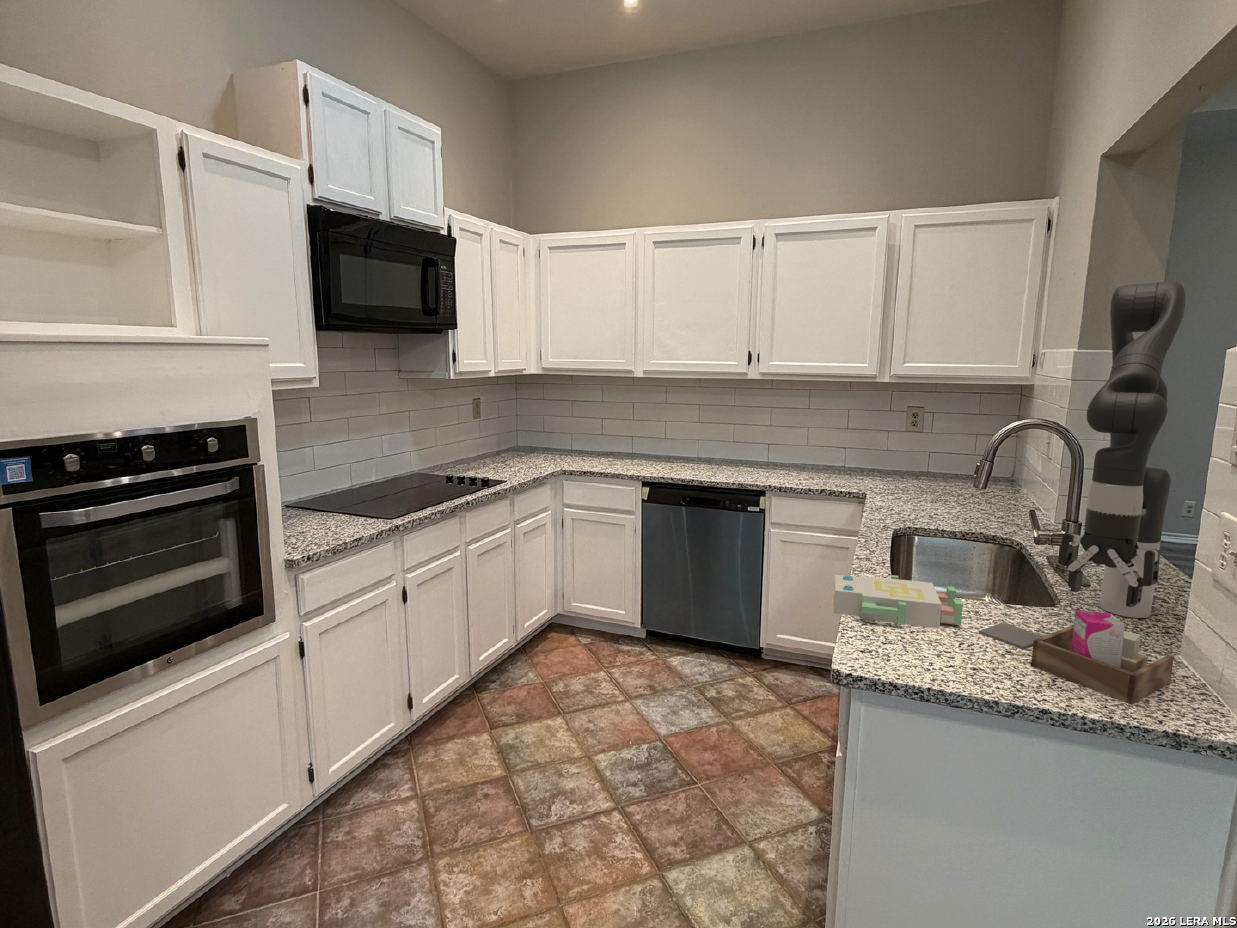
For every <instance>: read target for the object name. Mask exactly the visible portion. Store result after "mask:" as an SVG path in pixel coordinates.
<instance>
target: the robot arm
mask: <svg viewBox="0 0 1237 928" xmlns="http://www.w3.org/2000/svg"><path fill="white" fill-rule="evenodd" d="M1185 290H1186V289H1185V287H1184V286H1183V284H1182V283H1180V282H1178V281H1160V282H1145V283H1134V284H1125V285H1120V286H1118V287H1117V288H1115V290H1114V292H1113V293H1112V297H1111V300H1110V313H1109V314H1110V336H1111V337H1110V338H1111V352H1112V353H1111V354H1112V355H1111V356H1112V358H1111V359H1112V367H1111V370H1110V373H1109V377H1108V379H1107V381H1106V382H1105V384H1103V386H1102V387H1101V388H1100V389H1099V390H1098V391H1097V392H1096V394H1094V396H1093V397H1092V399H1091V400H1090V402H1089V404H1088V407H1087V409H1086V422H1087V424H1088V425H1089V427H1090V428H1091V429H1092V430H1094V431H1095V432H1098V433H1102V434H1110V436H1109V437H1110V443H1109V444H1110V446H1109V447H1103V448H1102V447H1101V448H1099V449H1098V450H1097V451H1096V452H1095V454H1094V455H1095V456H1094V461H1093V469H1092V479H1091V482H1090V483H1091V484H1090V486H1089V491H1088V495H1087V498H1086V511H1085V519H1084V520H1085V521H1084V527H1083V531H1084V532H1083V535H1079V534H1076V533H1075V532H1074V531H1073V532H1067V533H1065V534H1063V535H1062V538H1061V545H1060V549H1059V555H1058V560H1057V563H1058V565H1060V566H1064V567H1065V568H1067V569H1068V572H1069V574H1068V583H1067V586H1068V588H1070V591H1071V592H1072V593H1078V592H1080V591H1081V589H1082V583H1083V574H1084V571H1083V570H1082V569H1083V568H1084V567H1085V566H1087V565H1088V564H1089V563H1091V562H1092V563H1093V564H1094V565H1102V566H1104V567H1103V574H1102V575H1103V576H1102V583H1101V590H1100V591H1101V592H1100V600H1099V607H1100V609H1102V610H1103V611H1105V612H1107V613H1111V614H1112V615H1117V616H1121V617H1125V618H1127V617H1128V618H1136V619H1146V618H1150V616H1151V613H1152V606H1153V599H1154V592H1155V585H1156V584H1158V583H1159V575H1160V574H1159V573H1160V556H1161V552H1160V548H1161V543H1162V542H1161V540H1162V533H1163V526H1164V525H1163V523H1164V519H1165V518H1164V517H1165V512H1166V508H1167V503H1168V499H1169V495H1170V489H1171V475H1170V473H1169V471H1168V470H1167V469H1164V468H1157V467H1149V466H1148V467H1147V461H1148V458H1149V454H1150V452H1151V449H1152V447H1153V444H1154V442H1155V440H1156V438H1157V435H1158V434H1159V432H1160V430H1161V429H1162V427H1163V425H1164V423H1165V421H1166V418H1167V416H1168V387H1167V384H1165V380H1163V378H1162V377H1161V374H1162V369H1163V364H1164V360H1165V358H1166V356H1167V353H1168V351H1169V350H1170V347H1171V345H1172V344H1173V341H1174V339H1175V337H1176V335H1177V332H1178V331H1179V328H1180V326H1181V323H1182V320H1183V318H1184V312H1185V310H1186V309H1185V308H1186V307H1185V306H1186V292H1185ZM1133 333H1143V334H1141V335H1140V336H1137V338H1134V334H1133ZM1143 510H1145V513H1144V514H1142V512H1143ZM1079 543H1080V545H1081V547H1082V548H1083V550H1084V552H1083V553H1082V554H1080V556H1078V557H1077V558H1076V559H1075V560H1073V557H1074V553H1075V547H1076V546H1078V545H1079Z"/></svg>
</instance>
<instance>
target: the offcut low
mask: <svg viewBox="0 0 1237 928" xmlns="http://www.w3.org/2000/svg"><path fill="white" fill-rule="evenodd" d="M1148 657H1149V656H1148V655H1145V654H1143V653H1142V654H1141V653H1138V654H1137V655H1136V656H1135V657H1134V658H1133V659H1129V658H1126V657H1122V656H1121V665H1120V668H1121V669H1124V670H1126V671H1129V672H1132V673H1134V672H1136V671H1138V670H1139V669H1141V668H1143V667H1145V666H1147V664H1148Z"/></svg>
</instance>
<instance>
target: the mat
mask: <svg viewBox="0 0 1237 928" xmlns="http://www.w3.org/2000/svg"><path fill="white" fill-rule="evenodd" d="M978 634H980V635H983V636H986V637H989V638H991V639H994V640H997V641H999V642H1002V643H1003V644H1004V643H1005V644H1007V645H1010V646H1013V647H1015V648H1018V649H1021V650H1025V649H1028V648H1031V647H1033V642H1034V640H1036V639H1038V638H1041V637H1044V636H1045V635H1041V634H1039V633H1036V632H1033V631H1029V630H1027V629H1024V628H1021V627H1018V626H1016V625H1012V624H1009V623H1007V622H1005V621H1003V622H1001V623H997V624H994V625H992V626H989V627H987V628H983V629H979V631H978Z"/></svg>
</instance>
